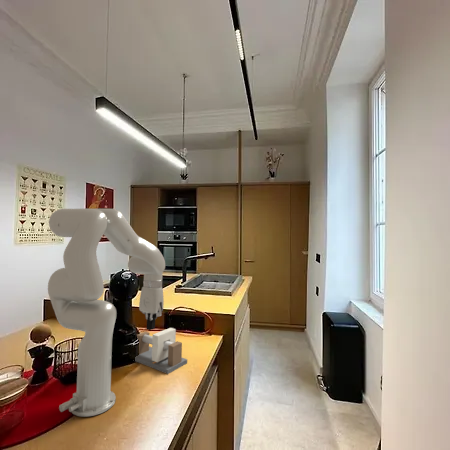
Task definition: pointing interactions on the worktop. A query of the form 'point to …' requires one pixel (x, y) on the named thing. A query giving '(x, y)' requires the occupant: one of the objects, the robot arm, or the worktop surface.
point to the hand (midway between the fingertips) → (150, 328)
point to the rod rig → (166, 364)
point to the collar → (162, 343)
